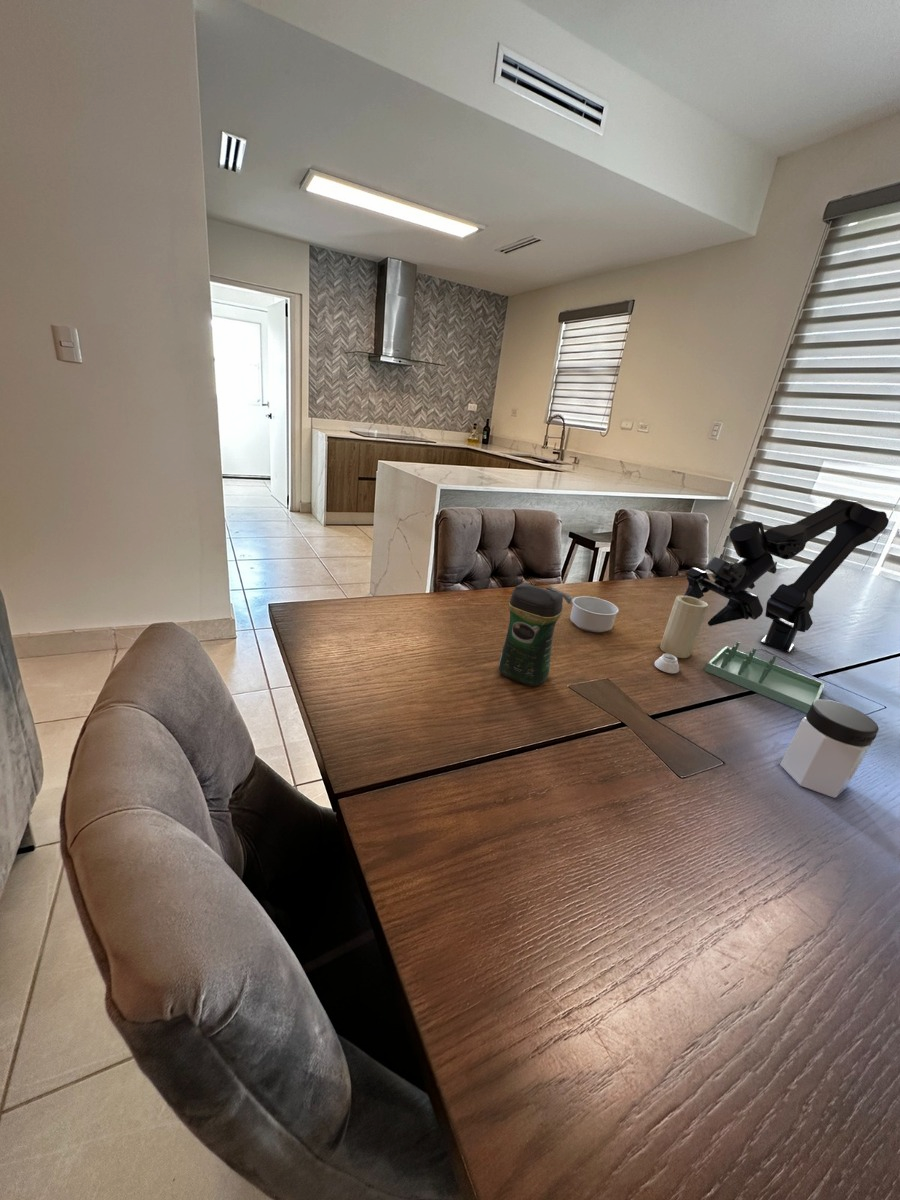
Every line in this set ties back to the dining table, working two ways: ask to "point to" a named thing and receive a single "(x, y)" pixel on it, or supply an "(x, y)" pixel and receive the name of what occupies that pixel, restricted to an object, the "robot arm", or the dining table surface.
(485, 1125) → the dining table surface
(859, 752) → the jar
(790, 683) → the dish rack
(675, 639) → the beige cylindrical vase
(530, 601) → the coffee jar
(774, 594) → the robot arm
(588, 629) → the saucepan
